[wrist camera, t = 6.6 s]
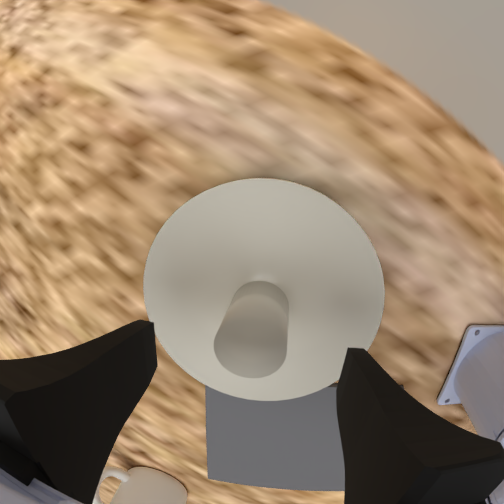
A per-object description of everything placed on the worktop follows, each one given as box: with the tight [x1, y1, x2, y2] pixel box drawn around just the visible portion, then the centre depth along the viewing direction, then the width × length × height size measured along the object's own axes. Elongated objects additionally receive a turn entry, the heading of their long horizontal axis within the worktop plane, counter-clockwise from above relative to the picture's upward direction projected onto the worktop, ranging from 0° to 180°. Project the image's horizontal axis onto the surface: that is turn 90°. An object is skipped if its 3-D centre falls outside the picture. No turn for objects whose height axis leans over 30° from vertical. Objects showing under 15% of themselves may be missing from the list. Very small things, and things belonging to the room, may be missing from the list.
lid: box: [143, 178, 385, 401], centre depth 15 cm, size 13×13×5 cm
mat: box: [205, 383, 404, 491], centre depth 25 cm, size 16×16×1 cm
